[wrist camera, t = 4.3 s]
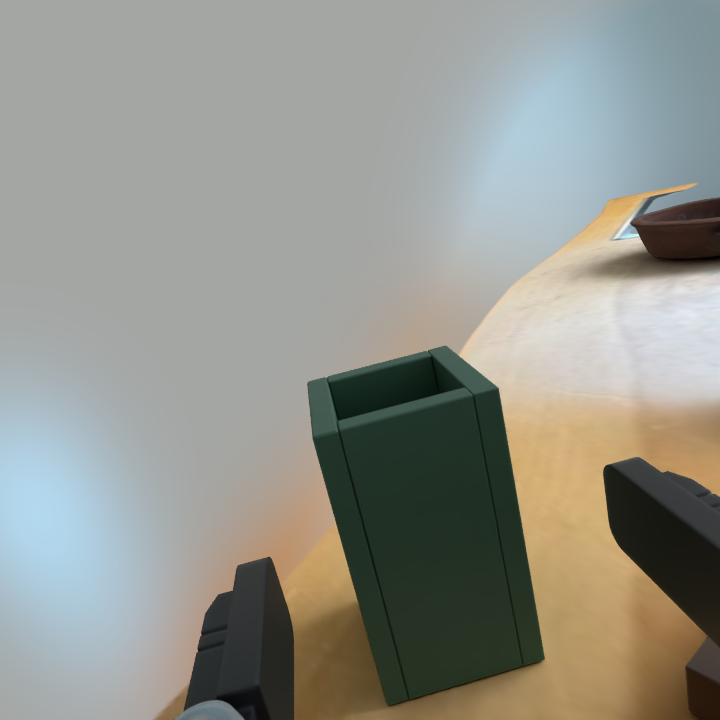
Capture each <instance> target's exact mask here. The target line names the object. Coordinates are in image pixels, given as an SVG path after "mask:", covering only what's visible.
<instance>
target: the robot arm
mask: <svg viewBox="0 0 720 720" xmlns="http://www.w3.org/2000/svg"><path fill="white" fill-rule="evenodd" d="M603 476H604V485H605V493H606V502H607V510H608V519H609V525H610V529H611V532H612V534H613V536H614V539H615V540H616V542H617V544H618V545H619V547H620V548H621V549H622V550H623V551H624V552H625V553H626V554H627V555H628V556H629V557H630V558H631V559H632V560H633V561H634V562H635V563H636V564H637V565H638V566H639V567H640V568H641V569H642V570H643V571H644V572H645V573H646V574H647V575H648V576H649V577H650V578H651V579H652V580H653V581H654V582H655V583H656V584H657V585H658V586H659V587H660V588H661V589H662V590H663V592H664V593H665V594H666V595H667V596H668V597H669V598H670V599H671V600H672V601H673V602H674V603H675V604H676V605H677V606H678V607H679V608H680V609H681V610H682V611H683V612H684V613H685V614H686V615H687V616H688V617H689V618H690V619H691V620H692V621H693V622H694V623H695V624H696V625H697V626H698V627H699V628H700V629H701V630H702V631H703V632H704V633H705V634H706V635H707V636H708V637H709V638H710V639H711V640H712V641H713V642H714V643H715V644H716V645H717V646H718V647H719V648H720V497H719V496H717V495H715V494H711V492H710V491H709V490H708V489H706V488H705V487H703V486H702V485H700V484H699V483H697V482H695V481H694V480H692V479H690V478H687V477H684V476H681V475H678V474H675V473H672V472H669V471H667V472H663V473H662V472H660V471H659V470H657V469H656V468H655V467H653V466H652V465H650V464H649V463H647V462H646V461H644V460H643V459H641V458H639V457H635V458H631V459H627V460H624V461H620V462H616V463H613V464H609V465H606V466H605V468H604V471H603ZM201 634H202V636H201V637H200V640H199V644H198V652H197V653H196V658H195V663H194V667H193V672H192V677H191V680H190V685H189V689H188V694H187V698H186V703H185V707H184V712H182V713H181V714H180V715H178V716H177V717H176V718H175V719H174V720H294V636H293V628H292V622H291V618H290V614H289V610H288V607H287V604H286V601H285V598H284V595H283V591H282V588H281V585H280V582H279V579H278V576H277V573H276V570H275V567H274V564H273V561H272V559H271V558H270V557H267V558H263V559H260V560H256V561H252V562H248V563H245V564H241V565H238V566H237V569H236V575H235V581H234V587H233V591H230V592H226V593H222V594H219V595H218V596H217V597H216V599H215V600H214V602H213V603H212V605H211V606H210V607H209V609H208V610H207V612H206V613H205V618H204V622H203V626H202V631H201Z"/></svg>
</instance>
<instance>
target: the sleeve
mask: <svg viewBox="0 0 720 720" xmlns="http://www.w3.org/2000/svg"><path fill="white" fill-rule="evenodd" d="M307 385H308V395H309V406H310V416H311V425H312V436H313V441H314V445H315V449H316V452H317V456H318V459H319V463H320V467H321V470H322V474H323V478H324V481H325V485H326V488H327V492H328V496H329V499H330V503H331V506H332V510H333V514H334V517H335V521H336V524H337V528H338V532H339V535H340V539H341V542H342V546H343V550H344V553H345V557H346V560H347V564H348V567H349V571H350V575H351V578H352V582H353V585H354V589H355V593H356V596H357V600H358V603H359V607H360V611H361V614H362V618H363V621H364V625H365V629H366V632H367V636H368V639H369V643H370V647H371V650H372V654H373V657H374V661H375V665H376V668H377V672H378V675H379V679H380V683H381V686H382V690H383V693H384V697H385V701H386V703H387V705H393V704H396V703H399V702H403V701H406V700H408V696H409V698H410V699H414V698H417V697H421V696H424V695H427V694H431V693H434V692H437V691H441V690H444V689H447V688H451V687H454V686H458V685H461V684H464V683H468V682H471V681H474V680H478V679H481V678H484V677H488V676H491V675H494V674H498V673H501V672H505V671H508V670H511V669H515V668H518V667H521V666H522V665H524V666H525V665H529V664H532V663H536V662H539V661H542V660H544V659H545V657H544V651H543V646H542V640H541V634H540V628H539V622H538V616H537V610H536V604H535V599H534V593H533V587H532V581H531V575H530V569H529V563H528V558H527V552H526V546H525V540H524V534H523V528H522V522H521V516H520V511H519V505H518V499H517V493H516V487H515V481H514V475H513V470H512V464H511V458H510V452H509V446H508V440H507V434H506V428H505V423H504V417H503V411H502V405H501V399H500V393H499V388H498V387H497V386H495V385H494V384H493V383H492V382H490V381H489V380H488V379H487V378H485V377H484V376H483V375H482V374H481V373H479V372H478V371H477V370H476V369H474V368H473V367H472V366H471V365H469V364H468V363H467V362H466V361H464V360H463V359H462V358H461V357H459V356H458V355H457V354H456V353H455V352H453V351H452V350H451V349H449V348H448V347H447V346H443V347H439V348H435V349H431V350H428V352H427V351H424V352H421V353H417V354H413V355H409V356H405V357H401V358H397V359H393V360H389V361H386V362H382V363H378V364H374V365H370V366H366V367H362V368H359V369H355V370H351V371H347V372H343V373H339V374H336V375H332V376H329V377H327V378H320V379H316V380H313V381H309V382H308V384H307Z"/></svg>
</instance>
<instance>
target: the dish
mask: <svg viewBox="0 0 720 720" xmlns="http://www.w3.org/2000/svg"><path fill="white" fill-rule="evenodd" d="M630 224H631V225H632V226H633V227H635V228H636V229H637V231H638V234H639V236H640V238H641V240H642V242H643V244H644V246H645V247H646V249H647V250H648V252H649V253H650V254H652V255H653V256H657V257H662V258H702V257H713V256H720V197H719V198H712V199H705V200H699V201H694V202H690V203H685V204H681V205H677V206H673V207H669V208H666V209H662V210H659V211H655V212H651V213H648V214H645V215H642V216H639V217H637V218H635V219H633V220H632V221H631V223H630Z"/></svg>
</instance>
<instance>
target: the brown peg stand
mask: <svg viewBox="0 0 720 720" xmlns="http://www.w3.org/2000/svg"><path fill="white" fill-rule="evenodd" d="M686 680H687V693H688V705H689V710H690V711H691V712H692V713H694V714H696V715H698V716H699V717H701V718H703V719H705V720H720V648H719V647H718V646H717V645H716V644H715V643H714V642H713V641H712V640H711V639H710V638H709V637H707V639H706V640H705V641H704V643H703V644H702V645H701V646H700V648H699V649H698V650H697V652H696V653H695V654H694V656H693V657H692V658H691V660H690V661H689V662H688V664H687V665H686Z"/></svg>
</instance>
